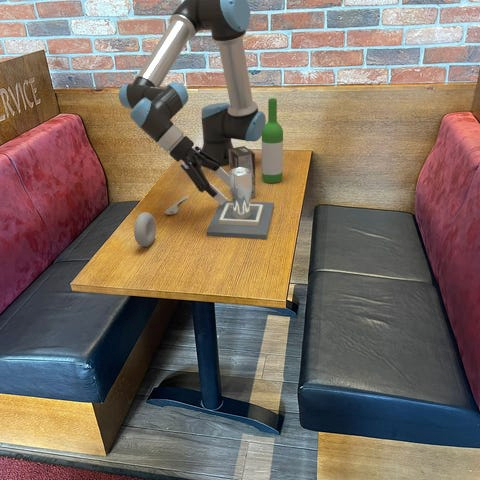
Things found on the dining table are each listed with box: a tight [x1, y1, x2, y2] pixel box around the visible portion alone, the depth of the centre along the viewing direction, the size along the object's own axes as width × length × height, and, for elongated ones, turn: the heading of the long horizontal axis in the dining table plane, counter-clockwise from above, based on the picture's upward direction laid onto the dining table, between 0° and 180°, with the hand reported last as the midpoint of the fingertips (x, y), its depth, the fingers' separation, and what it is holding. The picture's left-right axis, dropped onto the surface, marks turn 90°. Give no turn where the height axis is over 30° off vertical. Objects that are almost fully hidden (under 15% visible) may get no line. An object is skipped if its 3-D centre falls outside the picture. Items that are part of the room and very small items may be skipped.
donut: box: [133, 211, 157, 248], centre depth 129 cm, size 10×3×10 cm, turn 167°
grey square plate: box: [205, 200, 275, 240], centre depth 142 cm, size 22×18×3 cm
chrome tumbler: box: [229, 167, 252, 220], centre depth 139 cm, size 7×7×15 cm
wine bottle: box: [261, 98, 284, 184], centre depth 164 cm, size 8×8×30 cm
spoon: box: [164, 195, 189, 215], centre depth 155 cm, size 4×21×2 cm, turn 164°
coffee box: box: [228, 145, 256, 199], centre depth 157 cm, size 9×6×16 cm
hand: (228, 192), depth 139 cm, fingers open, 13 cm apart
